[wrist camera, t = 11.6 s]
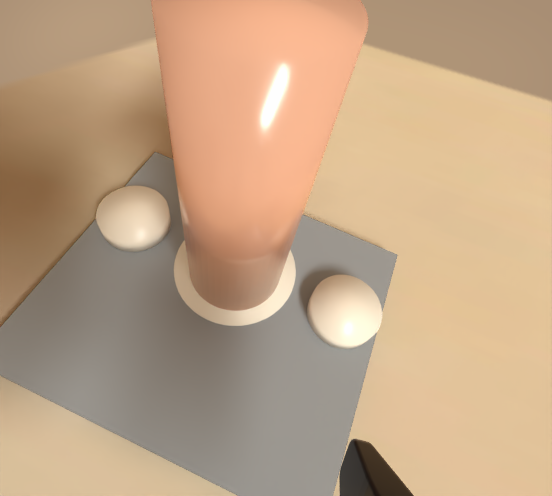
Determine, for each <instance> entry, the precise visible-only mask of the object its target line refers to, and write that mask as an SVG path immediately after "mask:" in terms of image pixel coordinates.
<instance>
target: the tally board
mask: <svg viewBox="0 0 552 496" xmlns="http://www.w3.org/2000/svg"><path fill="white" fill-rule="evenodd" d="M396 259H397V254H394V253H392V252H390V251H387V250H385V249H383V248H380V247H378V246H376V245H373V244H371V243H369V242H366V241H364V240H361V239H359V238H357V237H354V236H352V235H350V234H347V233H345V232H343V231H340V230H338V229H336V228H333V227H331V226H329V225H326V224H324V223H321V222H319V221H317V220H314V219H312V218H310V217H307V216H305V215H302V218H301V220H300V223H299V226H298V229H297V232H296V235H295V238H294V240H293V243H292V246H291V249H290V252H289V255H288V257H287V260H286V263H285V266H284V269H283V272H282V275H281V277H280V280H279V283H278V286H277V288H276V289H275V291H274V292H273V294H272V295H271V296H270V297H269V298H268V299H267V300H266V301H264V302H263V303H262V304H260V305H258V306H256V307H253V308H250V309H247V310H240V311H231V310H225V309H221V308H218V307H215V306H213V305H211V304H209V303H208V302H207V301H205V300H204V299H203V298H202V297H201V296H200V295H199V294H198V293H197V292H196V290H195V288H194V287H193V284H192V282H191V279H190V274H189V267H188V260H187V253H186V246H185V239H184V231H183V224H182V217H181V210H180V203H179V196H178V189H177V182H176V175H175V168H174V161H173V159H171V158H169V157H166V156H164V155H162V154H159V153H157V152H155V153H154V154H153V155H152V156H151V157H150V158H149V159H148V161H147V162H146V163H145V164H144V165H143V166H142V167H141V168H140V170H139V171H138V172H137V173H136V174H135V175H134V176H133V178H132V179H131V180H130V181H129V182H128V183H127V184H126V185H125V187H122V188H119V189H117V190H115V191H113V192H111V193H110V194H108V195H107V196H106V197H105V198H104V199H103V200H102V201H101V202H100V204H99V206H98V208H97V212H96V219H95V221H94V222H93V223H92V224H91V225H90V226H89V227H88V228H87V230H86V231H85V232H84V233H83V234H82V235H81V236H80V238H79V239H78V240H77V241H76V242H75V243H74V244H73V245H72V247H71V248H70V249H69V250H68V251H67V252H66V253H65V255H64V256H63V257H62V258H61V259H60V260H59V261H58V262H57V264H56V265H55V266H54V267H53V268H52V269H51V270H50V272H49V273H48V274H47V275H46V276H45V277H44V278H43V279H42V281H41V282H40V283H39V284H38V285H37V286H36V287H35V289H34V290H33V291H32V292H31V293H30V294H29V295H28V296H27V298H26V299H25V300H24V301H23V302H22V303H21V304H20V305H19V307H18V308H17V309H16V310H15V311H14V312H13V313H12V315H11V316H10V317H9V318H8V319H7V320H6V321H5V322H4V324H3V325H2V326H1V327H0V376H2V377H4V378H6V379H8V380H10V381H12V382H14V383H16V384H18V385H20V386H22V387H24V388H26V389H28V390H30V391H32V392H34V393H36V394H38V395H40V396H42V397H44V398H46V399H48V400H50V401H52V402H54V403H56V404H58V405H60V406H62V407H64V408H65V409H67V410H69V411H71V412H73V413H75V414H77V415H79V416H81V417H83V418H85V419H87V420H89V421H91V422H93V423H95V424H97V425H99V426H101V427H103V428H105V429H107V430H109V431H111V432H113V433H115V434H117V435H119V436H121V437H123V438H125V439H127V440H129V441H131V442H133V443H135V444H137V445H139V446H141V447H143V448H145V449H147V450H149V451H151V452H153V453H155V454H157V455H159V456H161V457H163V458H165V459H166V460H168V461H170V462H172V463H174V464H176V465H178V466H180V467H182V468H184V469H186V470H188V471H190V472H192V473H194V474H196V475H198V476H200V477H202V478H204V479H206V480H208V481H210V482H212V483H214V484H216V485H218V486H220V487H222V488H224V489H226V490H228V491H230V492H232V493H234V494H236V495H238V496H333V493H334V490H335V486H336V482H337V478H338V475H339V471H340V467H341V464H342V460H343V456H344V452H345V449H346V445H347V441H348V438H349V434H350V430H351V426H352V423H353V419H354V415H355V411H356V408H357V404H358V400H359V397H360V393H361V389H362V385H363V382H364V378H365V374H366V370H367V367H368V363H369V359H370V356H371V352H372V348H373V344H374V341H375V337H376V333H377V331H378V329H379V327H380V324H381V321H382V311H383V307H384V303H385V300H386V296H387V292H388V288H389V285H390V281H391V277H392V274H393V270H394V266H395V262H396Z"/></svg>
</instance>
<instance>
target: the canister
mask: <svg viewBox="0 0 552 496" xmlns="http://www.w3.org/2000/svg"><path fill="white" fill-rule="evenodd" d="M151 4H152V12H153V19H154V26H155V33H156V40H157V47H158V54H159V61H160V68H161V76H162V83H163V90H164V97H165V104H166V111H167V118H168V125H169V132H170V139H171V146H172V154H173V161H174V168H175V175H176V182H177V189H178V196H179V203H180V210H181V217H182V224H183V231H184V239H185V246H186V253H187V260H188V267H189V274H190V279H191V282H192V284H193V287H194V288H195V290H196V292H197V293H198V294H199V295H200V296H201V297H202V298H203V299H204V300H205V301H207V302H208V303H209V304H211V305H213V306H215V307H218V308H221V309H225V310H231V311H240V310H247V309H250V308H253V307H256V306H258V305H260V304H262V303H263V302H264V301H266V300H267V299H268V298H269V297H270V296H271V295H272V294H273V292H274V291H275V289H276V288H277V286H278V283H279V280H280V277H281V275H282V272H283V269H284V266H285V263H286V260H287V257H288V255H289V252H290V249H291V246H292V243H293V240H294V238H295V235H296V232H297V229H298V226H299V223H300V220H301V218H302V215H303V212H304V209H305V206H306V203H307V200H308V198H309V195H310V192H311V189H312V186H313V183H314V181H315V178H316V175H317V172H318V169H319V166H320V163H321V161H322V158H323V155H324V152H325V149H326V146H327V144H328V141H329V138H330V135H331V132H332V129H333V126H334V124H335V121H336V118H337V115H338V112H339V109H340V106H341V104H342V101H343V98H344V95H345V92H346V89H347V87H348V84H349V81H350V78H351V75H352V72H353V69H354V67H355V64H356V61H357V58H358V55H359V52H360V49H361V47H362V44H363V41H364V38H365V35H366V32H367V29H368V16H367V12H366V10H365V7H364V6H363V4H362V2H361V0H151Z"/></svg>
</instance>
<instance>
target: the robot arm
mask: <svg viewBox="0 0 552 496" xmlns="http://www.w3.org/2000/svg"><path fill="white" fill-rule="evenodd" d="M340 496H414V495H413V494H412V493H411V492H410V490H409V489H408V488H407V487H406V486H405V484H404V483H403V482H402V481H401V480H400V478H399V477H398V476H397V475H396V473H395V472H394V471H393V470H392V469H391V467H390V466H389V465H388V464H387V462H386V461H385V460H384V459H383V458H382V456H381V455H380V454H379V453H378V452H377V450H376V449H375V448H374V447H373V445H372V444H371V443H369V442H366V441H362V440H358V439H353V440H351V442H350V444H349V446H348V449H347V452H346V455H345V457H344V460H343V463H342V466H341V470H340Z"/></svg>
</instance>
